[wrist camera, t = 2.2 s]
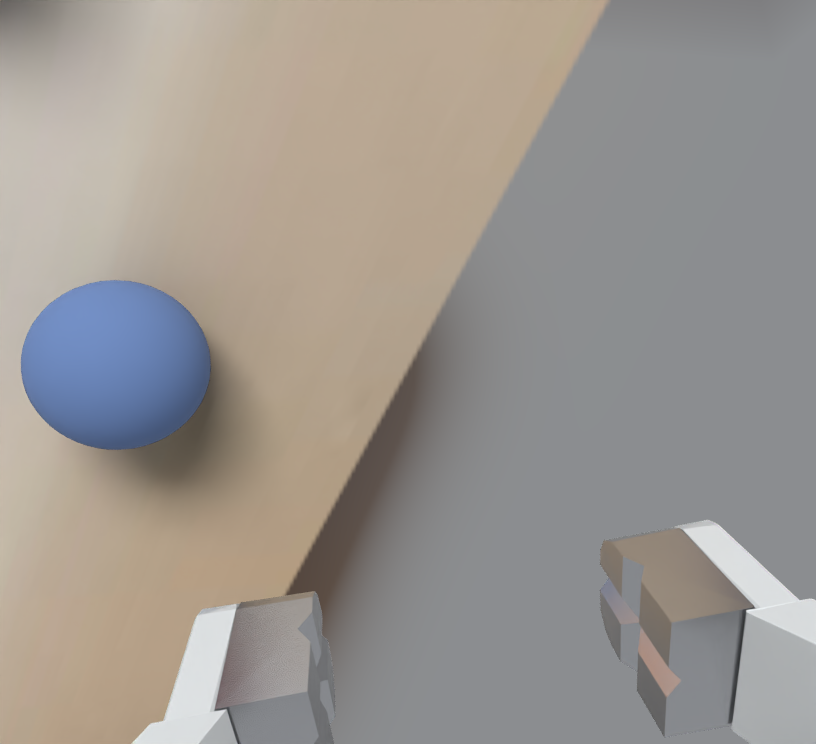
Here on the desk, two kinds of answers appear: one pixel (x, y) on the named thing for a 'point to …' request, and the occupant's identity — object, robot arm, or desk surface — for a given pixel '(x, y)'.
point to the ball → (115, 365)
